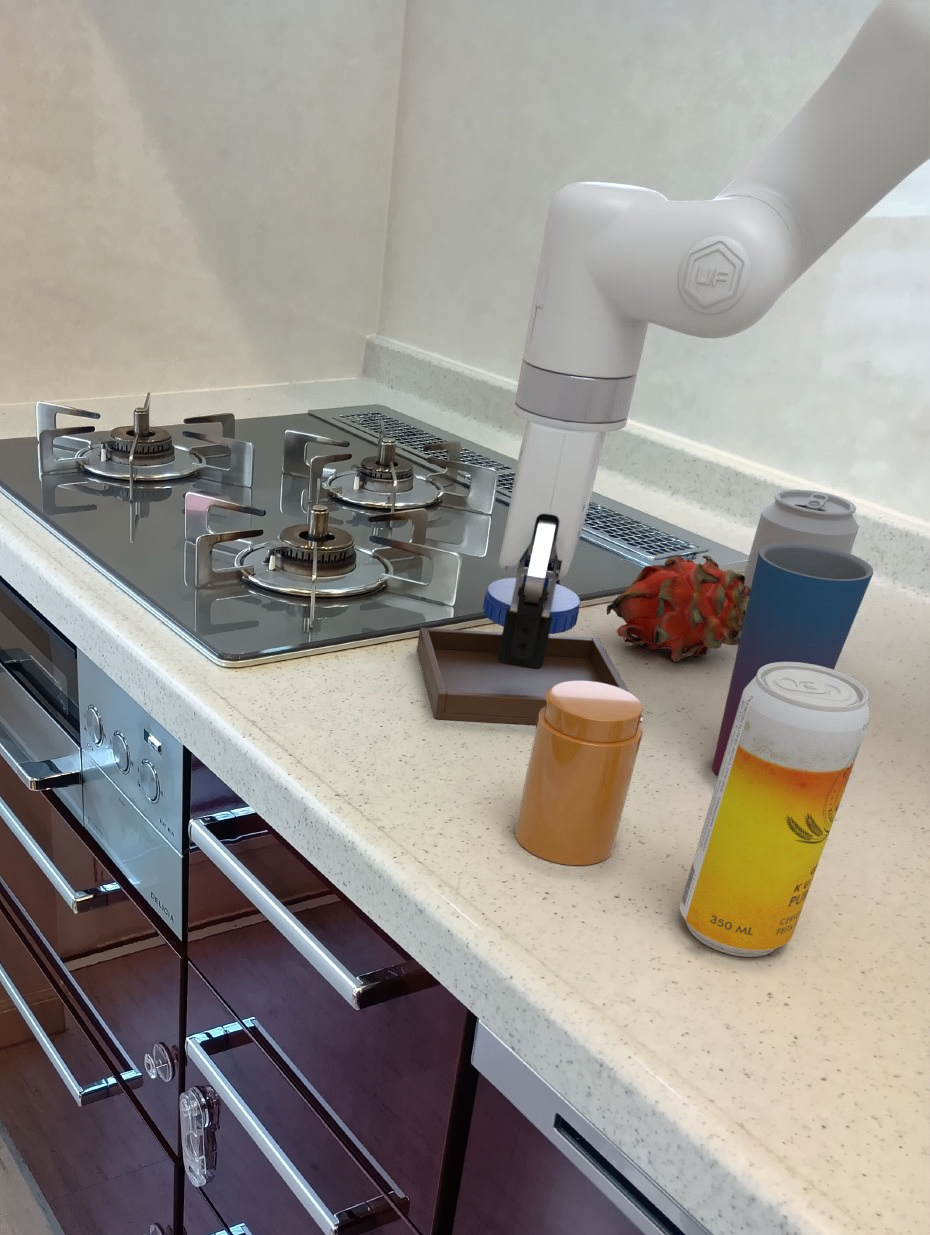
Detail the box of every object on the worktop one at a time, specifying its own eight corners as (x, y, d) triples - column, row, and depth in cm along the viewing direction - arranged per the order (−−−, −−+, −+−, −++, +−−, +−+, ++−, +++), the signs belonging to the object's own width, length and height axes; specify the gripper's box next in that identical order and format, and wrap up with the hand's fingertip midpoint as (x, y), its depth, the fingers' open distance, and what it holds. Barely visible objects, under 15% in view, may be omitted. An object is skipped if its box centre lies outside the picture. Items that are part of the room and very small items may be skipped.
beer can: (797, 970, 70) (890, 717, 62) (681, 953, 71) (758, 700, 62) (779, 908, 75) (863, 667, 67) (672, 893, 76) (741, 652, 67)
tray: (593, 661, 104) (598, 638, 103) (630, 730, 94) (637, 705, 92) (416, 651, 103) (419, 627, 102) (434, 719, 93) (438, 693, 92)
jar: (601, 817, 83) (634, 681, 77) (623, 868, 78) (660, 726, 72) (507, 812, 82) (534, 675, 77) (523, 863, 77) (553, 720, 72)
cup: (708, 741, 93) (767, 535, 84) (807, 766, 90) (878, 556, 82) (690, 780, 88) (751, 564, 79) (794, 808, 85) (869, 588, 77)
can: (715, 640, 109) (755, 497, 103) (743, 616, 114) (782, 478, 108) (805, 666, 106) (852, 520, 99) (829, 639, 111) (876, 499, 104)
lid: (489, 631, 92) (493, 608, 91) (477, 596, 98) (480, 574, 97) (584, 638, 93) (589, 615, 92) (566, 602, 98) (570, 581, 97)
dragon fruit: (749, 678, 107) (601, 689, 107) (732, 589, 110) (588, 600, 110) (781, 622, 99) (621, 634, 100) (761, 528, 102) (606, 540, 102)
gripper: (528, 362, 94) (486, 598, 104) (504, 416, 80) (458, 683, 90) (633, 376, 93) (581, 613, 103) (628, 433, 79) (567, 702, 89)
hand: (524, 644), depth 96 cm, fingers closed on lid, 6 cm apart
